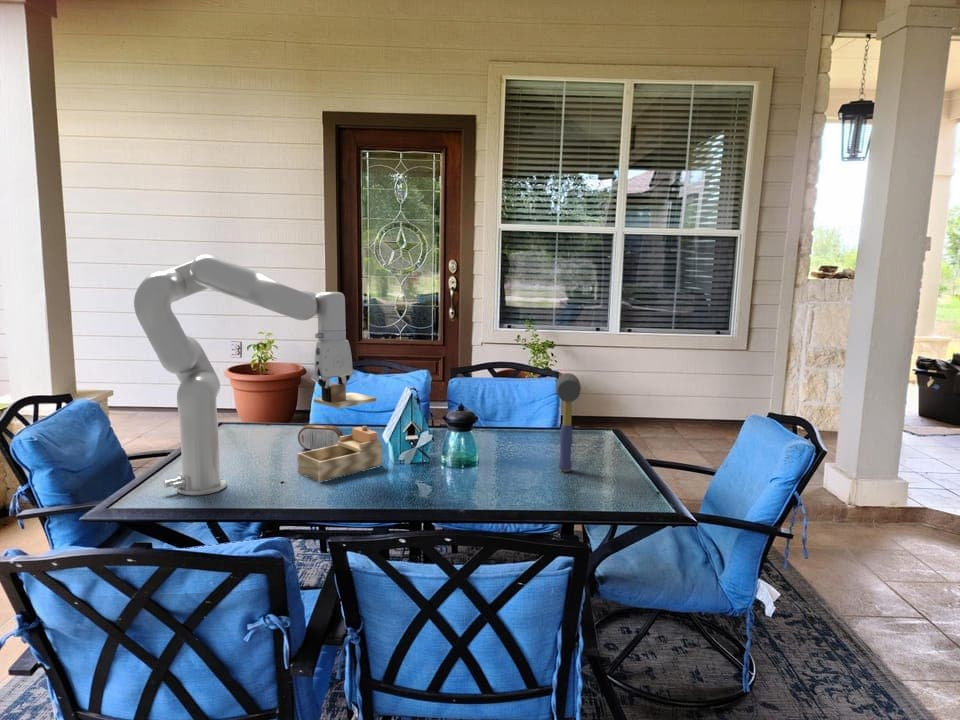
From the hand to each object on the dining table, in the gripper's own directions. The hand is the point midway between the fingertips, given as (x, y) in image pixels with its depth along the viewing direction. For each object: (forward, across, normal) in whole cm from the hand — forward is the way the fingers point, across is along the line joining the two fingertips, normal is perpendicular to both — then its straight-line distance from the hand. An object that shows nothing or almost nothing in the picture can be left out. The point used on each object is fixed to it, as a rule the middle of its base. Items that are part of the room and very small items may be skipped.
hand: (333, 399), depth 187 cm
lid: (+1, +4, 0) cm, 4 cm away
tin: (+24, +14, +28) cm, 39 cm away
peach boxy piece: (+17, +15, +6) cm, 23 cm away
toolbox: (+24, +6, +6) cm, 25 cm away
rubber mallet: (+25, +55, -42) cm, 73 cm away
